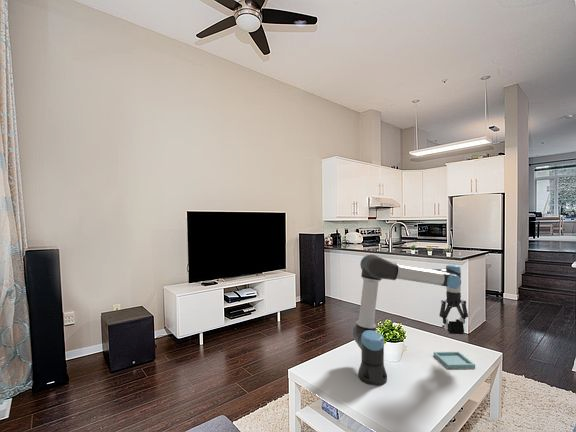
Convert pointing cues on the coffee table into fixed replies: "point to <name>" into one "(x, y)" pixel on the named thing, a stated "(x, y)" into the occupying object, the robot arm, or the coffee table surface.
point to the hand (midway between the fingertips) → (453, 329)
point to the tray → (454, 360)
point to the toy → (455, 327)
